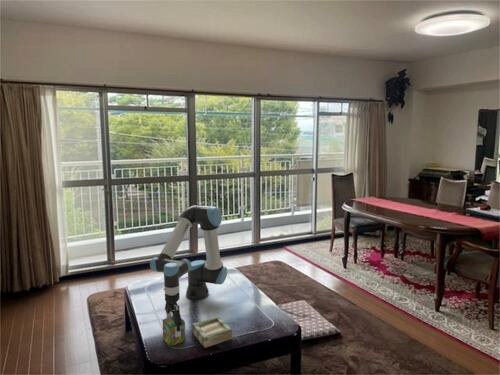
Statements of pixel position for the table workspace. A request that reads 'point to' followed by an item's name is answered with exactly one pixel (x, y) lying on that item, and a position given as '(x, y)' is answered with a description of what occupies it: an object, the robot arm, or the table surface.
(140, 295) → the table surface
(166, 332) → the chalk box
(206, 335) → the rectangular frame
